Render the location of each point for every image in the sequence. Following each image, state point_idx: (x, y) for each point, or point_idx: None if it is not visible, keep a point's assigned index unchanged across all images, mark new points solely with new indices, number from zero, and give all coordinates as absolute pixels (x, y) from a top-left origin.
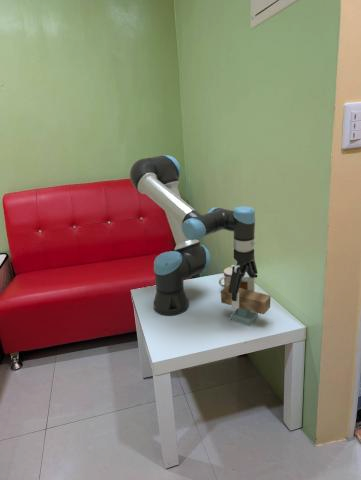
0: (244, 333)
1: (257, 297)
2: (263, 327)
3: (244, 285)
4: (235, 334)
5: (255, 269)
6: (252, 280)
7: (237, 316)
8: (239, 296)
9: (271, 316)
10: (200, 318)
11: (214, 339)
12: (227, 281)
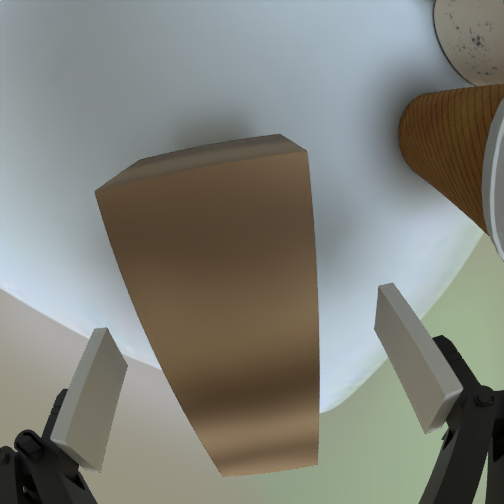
0: (134, 327)
1: (250, 451)
2: None
3: (465, 197)
4: (99, 305)
5: (491, 481)
6: (420, 409)
7: None
8: (170, 384)
9: (330, 336)
10: (64, 76)
11: (17, 261)
12: (478, 4)
